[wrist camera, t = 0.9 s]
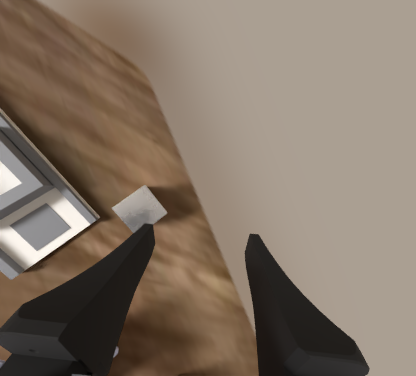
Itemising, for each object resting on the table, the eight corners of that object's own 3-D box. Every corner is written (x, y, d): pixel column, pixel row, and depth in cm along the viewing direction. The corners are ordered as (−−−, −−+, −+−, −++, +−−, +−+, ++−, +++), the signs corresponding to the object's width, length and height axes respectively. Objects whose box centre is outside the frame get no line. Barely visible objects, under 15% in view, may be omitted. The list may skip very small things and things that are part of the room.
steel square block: (138, 224, 24) (137, 237, 18) (120, 203, 24) (111, 208, 17) (161, 207, 26) (167, 212, 19) (144, 186, 25) (145, 184, 18)
